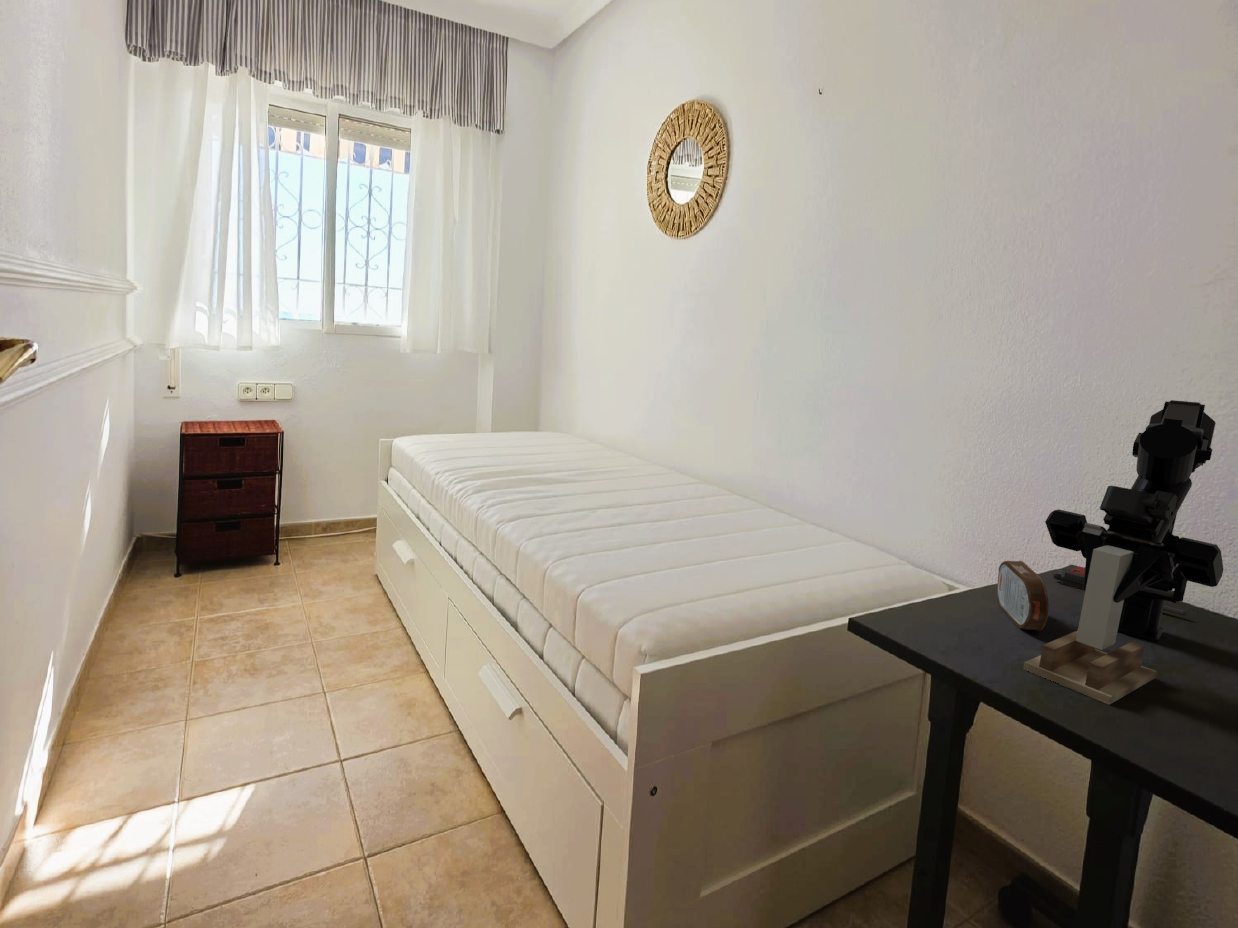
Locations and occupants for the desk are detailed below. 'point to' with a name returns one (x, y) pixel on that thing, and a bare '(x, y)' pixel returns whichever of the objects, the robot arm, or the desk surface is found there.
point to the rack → (1092, 668)
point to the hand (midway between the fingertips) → (1100, 596)
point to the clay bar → (1103, 597)
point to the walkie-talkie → (1075, 578)
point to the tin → (1022, 595)
